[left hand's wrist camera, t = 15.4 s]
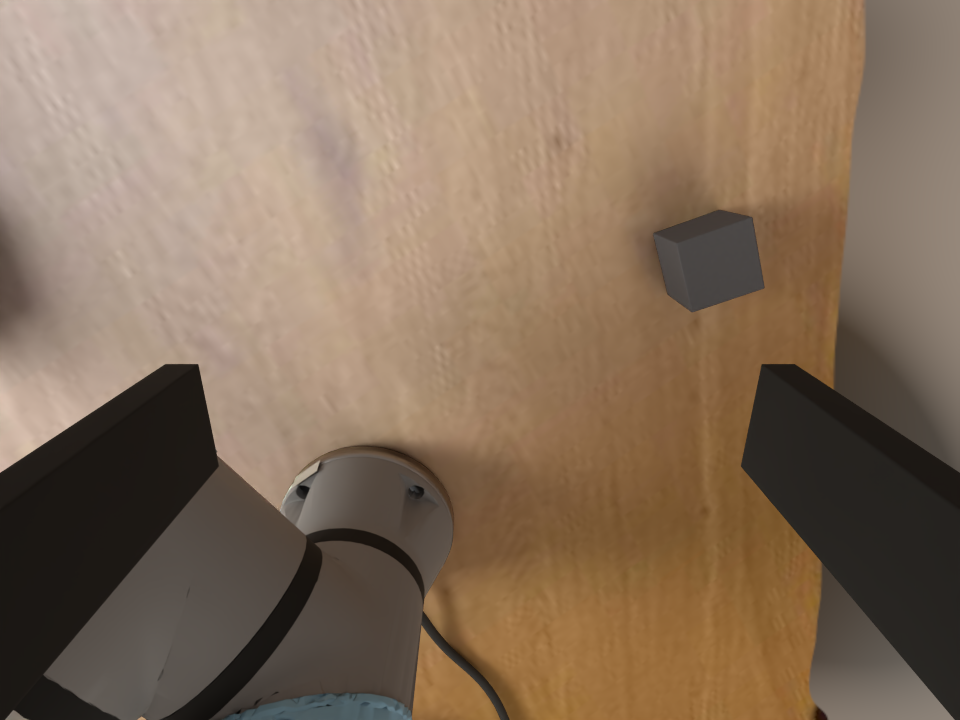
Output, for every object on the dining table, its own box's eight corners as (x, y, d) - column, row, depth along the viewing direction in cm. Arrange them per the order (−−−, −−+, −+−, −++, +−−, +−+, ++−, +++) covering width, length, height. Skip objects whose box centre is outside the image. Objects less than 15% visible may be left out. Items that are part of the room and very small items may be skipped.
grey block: (732, 273, 40) (765, 288, 36) (667, 295, 41) (691, 312, 36) (719, 209, 39) (752, 216, 34) (652, 233, 39) (676, 243, 35)
